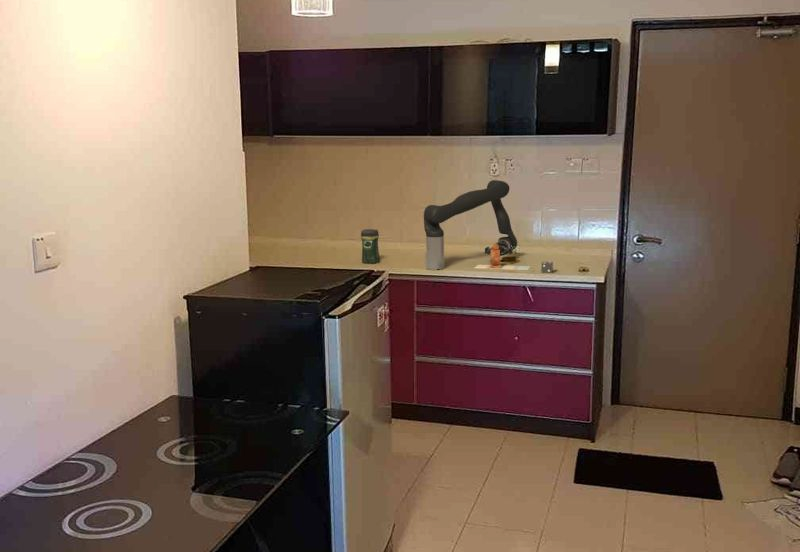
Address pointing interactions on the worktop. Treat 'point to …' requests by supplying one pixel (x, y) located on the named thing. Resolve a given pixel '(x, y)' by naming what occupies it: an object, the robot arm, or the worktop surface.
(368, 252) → the coffee jar
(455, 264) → the worktop surface
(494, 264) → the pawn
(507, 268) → the board
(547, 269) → the die
